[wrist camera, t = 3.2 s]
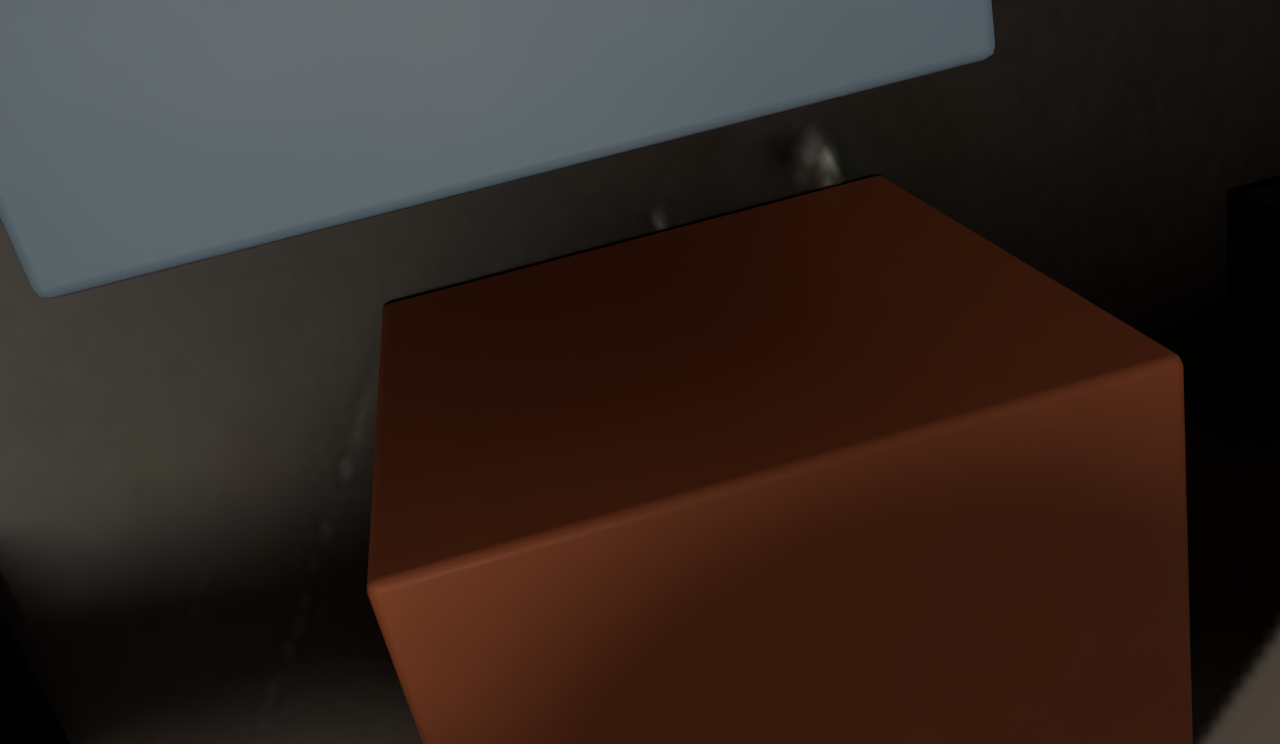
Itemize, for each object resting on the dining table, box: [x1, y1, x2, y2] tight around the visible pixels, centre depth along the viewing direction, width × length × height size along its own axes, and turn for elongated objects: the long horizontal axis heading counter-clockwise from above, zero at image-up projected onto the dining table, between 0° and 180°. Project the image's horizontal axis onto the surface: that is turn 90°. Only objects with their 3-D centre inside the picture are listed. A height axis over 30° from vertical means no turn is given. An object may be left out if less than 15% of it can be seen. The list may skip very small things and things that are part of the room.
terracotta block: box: [367, 176, 1193, 744], centre depth 10 cm, size 5×5×5 cm
